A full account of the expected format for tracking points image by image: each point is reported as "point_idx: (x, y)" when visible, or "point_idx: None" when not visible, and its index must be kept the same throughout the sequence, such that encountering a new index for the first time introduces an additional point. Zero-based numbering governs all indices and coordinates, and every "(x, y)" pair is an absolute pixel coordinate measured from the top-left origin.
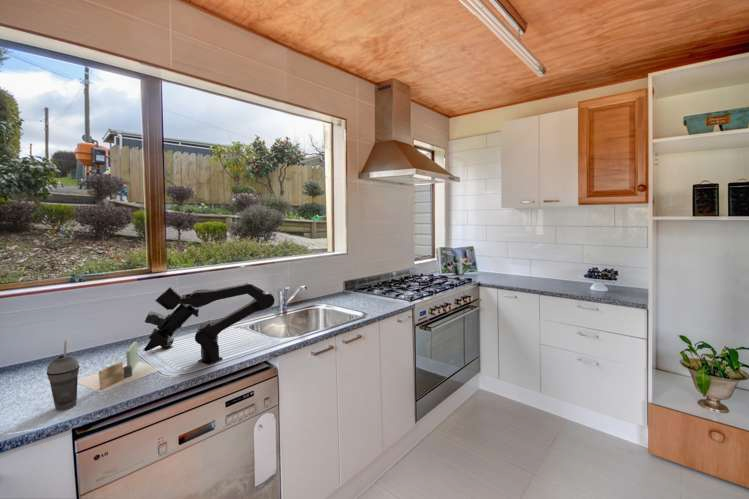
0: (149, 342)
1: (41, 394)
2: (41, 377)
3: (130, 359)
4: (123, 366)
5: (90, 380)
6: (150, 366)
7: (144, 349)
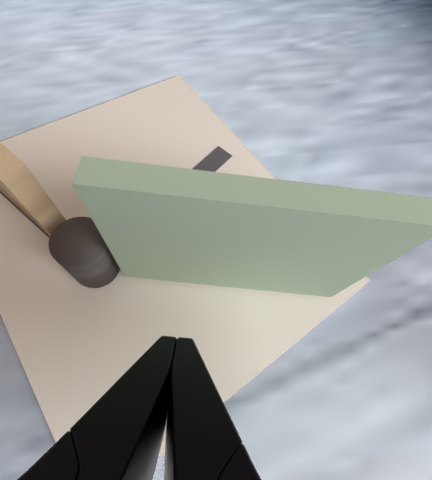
0: (56, 452)
1: (109, 23)
2: (282, 11)
3: (114, 236)
4: None
5: (147, 120)
6: None
7: (157, 344)
